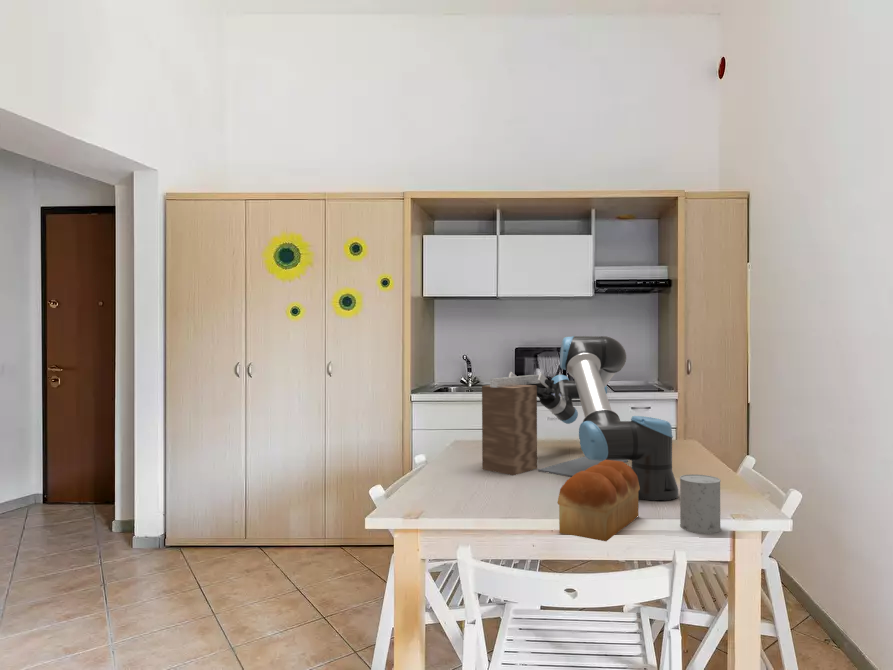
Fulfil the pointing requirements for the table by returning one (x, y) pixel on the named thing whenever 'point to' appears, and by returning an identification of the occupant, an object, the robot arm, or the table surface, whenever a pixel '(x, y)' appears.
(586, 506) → the bread
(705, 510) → the concrete cylinder
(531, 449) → the walnut pedestal
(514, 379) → the steel bar
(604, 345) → the robot arm
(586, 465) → the rubber mat
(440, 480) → the table surface
